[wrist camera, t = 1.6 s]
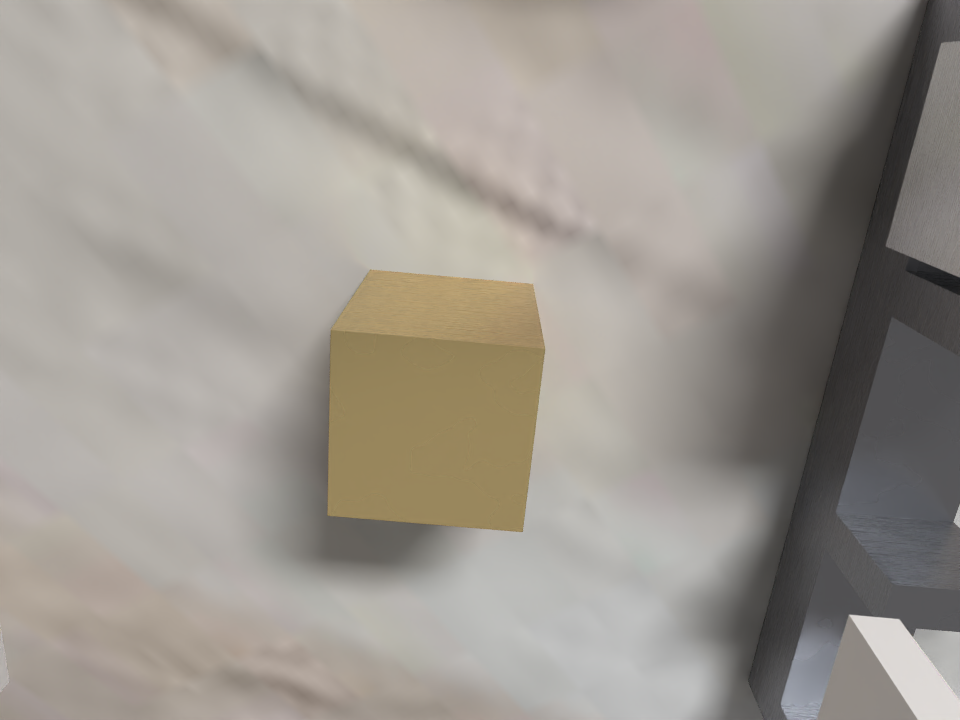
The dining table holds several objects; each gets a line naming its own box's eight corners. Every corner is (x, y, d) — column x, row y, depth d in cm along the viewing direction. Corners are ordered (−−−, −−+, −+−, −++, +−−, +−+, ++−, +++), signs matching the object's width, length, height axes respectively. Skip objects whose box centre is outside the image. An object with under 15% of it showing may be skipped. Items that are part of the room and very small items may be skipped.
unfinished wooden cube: (365, 417, 25) (327, 515, 19) (370, 269, 23) (330, 329, 17) (516, 430, 25) (522, 531, 19) (532, 283, 23) (545, 348, 18)
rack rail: (748, 681, 28) (811, 831, 23) (937, -32, 20) (1112, -77, 14) (843, 689, 28) (930, 840, 23) (1071, -20, 20) (1297, -59, 14)
